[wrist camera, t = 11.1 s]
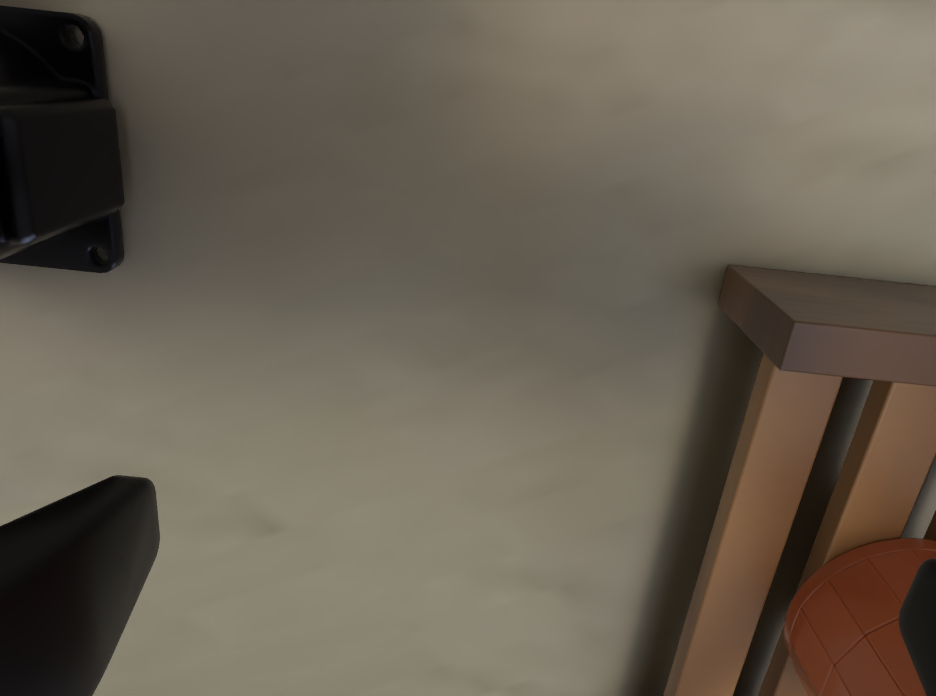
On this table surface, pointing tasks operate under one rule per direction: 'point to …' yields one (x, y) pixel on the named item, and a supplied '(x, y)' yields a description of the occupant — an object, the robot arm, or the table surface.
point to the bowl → (856, 622)
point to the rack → (809, 452)
